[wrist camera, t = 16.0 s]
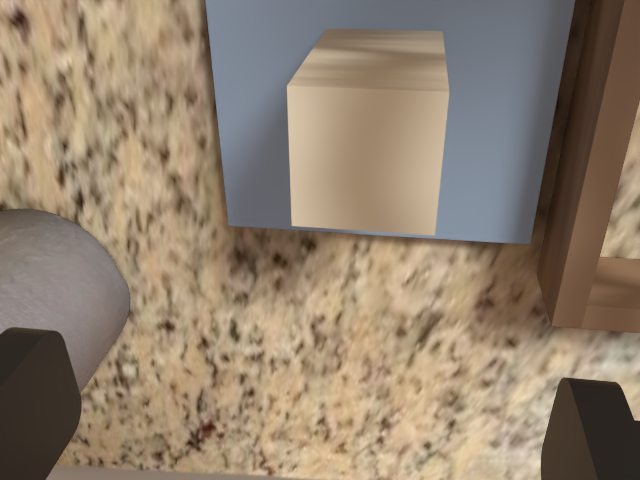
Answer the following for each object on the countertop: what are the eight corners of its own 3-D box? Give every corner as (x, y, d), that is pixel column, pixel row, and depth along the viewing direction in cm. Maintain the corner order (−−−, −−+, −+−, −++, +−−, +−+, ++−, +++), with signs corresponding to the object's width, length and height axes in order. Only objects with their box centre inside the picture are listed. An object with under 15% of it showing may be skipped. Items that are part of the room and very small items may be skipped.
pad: (234, 216, 30) (228, 225, 29) (202, -111, 23) (193, -110, 22) (526, 233, 28) (530, 244, 27) (590, -117, 21) (596, -117, 20)
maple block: (326, 137, 26) (291, 225, 19) (326, 28, 24) (286, 86, 17) (432, 141, 26) (434, 235, 19) (442, 31, 23) (449, 91, 16)
